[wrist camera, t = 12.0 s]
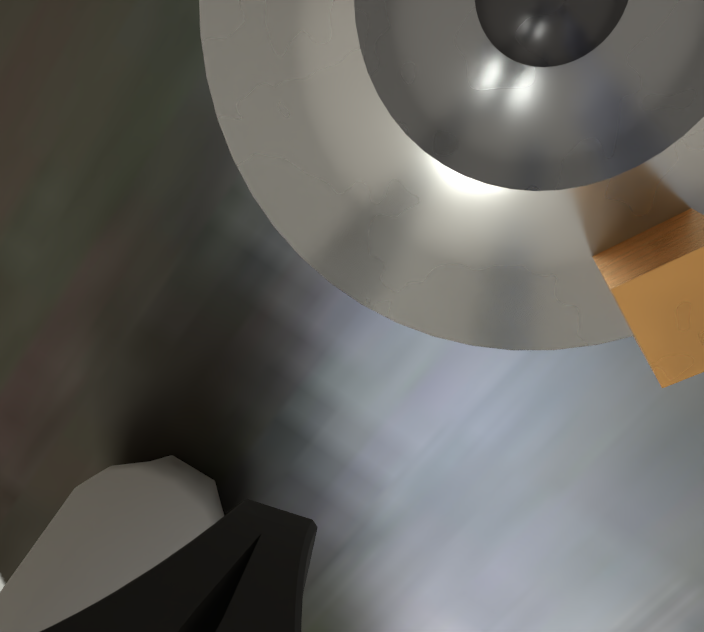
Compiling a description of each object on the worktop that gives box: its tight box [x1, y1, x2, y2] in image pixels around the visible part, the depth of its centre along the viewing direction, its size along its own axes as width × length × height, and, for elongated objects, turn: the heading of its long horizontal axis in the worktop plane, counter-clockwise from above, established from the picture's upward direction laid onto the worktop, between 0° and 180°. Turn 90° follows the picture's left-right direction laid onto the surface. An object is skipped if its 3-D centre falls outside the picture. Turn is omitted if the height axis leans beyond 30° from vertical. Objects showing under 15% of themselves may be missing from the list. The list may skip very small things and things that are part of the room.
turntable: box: [199, 0, 704, 388], centre depth 14 cm, size 16×16×4 cm
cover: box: [354, 0, 704, 191], centre depth 13 cm, size 7×7×4 cm
